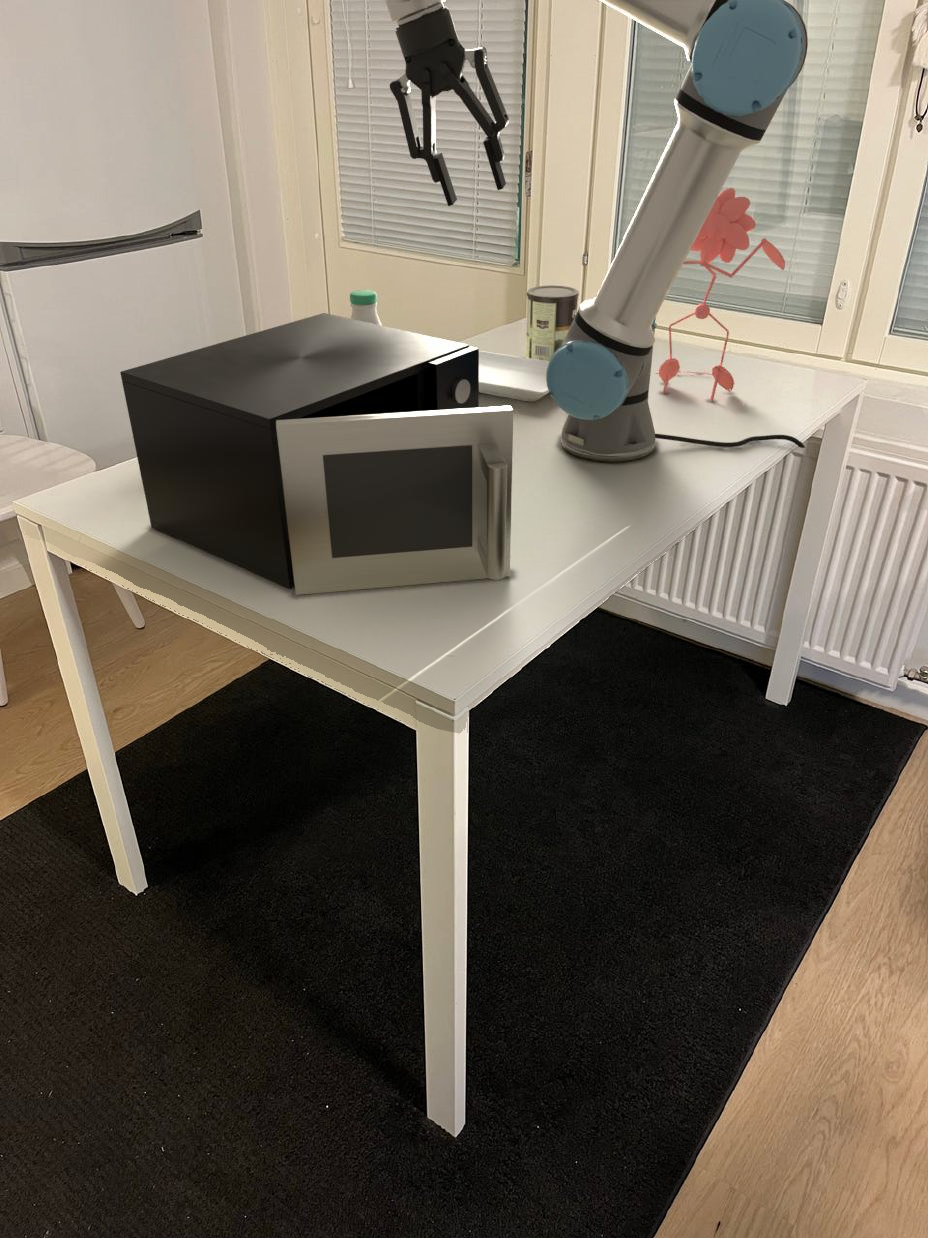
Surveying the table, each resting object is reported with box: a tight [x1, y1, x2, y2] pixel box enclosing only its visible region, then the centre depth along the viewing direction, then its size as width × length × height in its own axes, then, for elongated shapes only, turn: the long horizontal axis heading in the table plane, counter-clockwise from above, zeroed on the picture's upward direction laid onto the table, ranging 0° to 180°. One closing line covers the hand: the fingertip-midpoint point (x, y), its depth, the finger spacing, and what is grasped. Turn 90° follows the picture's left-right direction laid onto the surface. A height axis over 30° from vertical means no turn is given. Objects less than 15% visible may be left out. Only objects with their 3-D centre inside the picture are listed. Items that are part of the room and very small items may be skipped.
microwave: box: [119, 312, 480, 591], centre depth 130 cm, size 30×36×22 cm
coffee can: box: [525, 285, 580, 361], centre depth 191 cm, size 10×10×14 cm
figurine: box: [654, 187, 786, 407], centre depth 172 cm, size 15×26×35 cm, turn 60°
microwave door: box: [276, 405, 514, 596], centre depth 110 cm, size 9×27×22 cm, turn 99°
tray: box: [479, 349, 550, 403], centre depth 183 cm, size 17×31×4 cm, turn 60°
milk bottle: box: [349, 289, 383, 326], centre depth 168 cm, size 8×8×20 cm
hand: (477, 194), depth 136 cm, fingers open, 7 cm apart
